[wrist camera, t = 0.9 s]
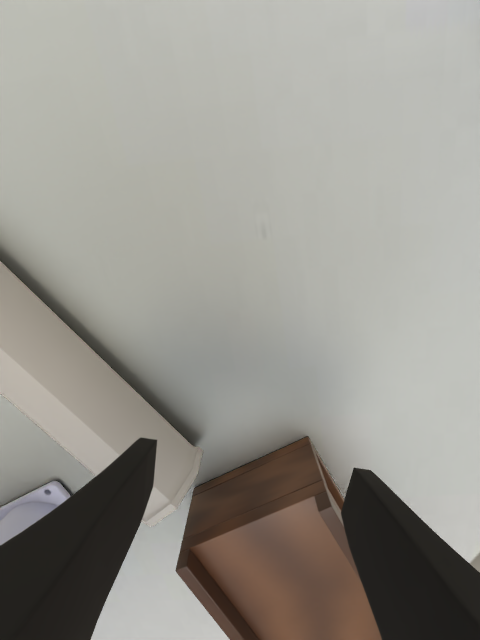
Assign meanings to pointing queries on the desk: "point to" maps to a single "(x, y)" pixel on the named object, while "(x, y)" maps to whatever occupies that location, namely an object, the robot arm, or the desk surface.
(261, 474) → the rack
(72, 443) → the tube
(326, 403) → the desk surface
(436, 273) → the desk surface
